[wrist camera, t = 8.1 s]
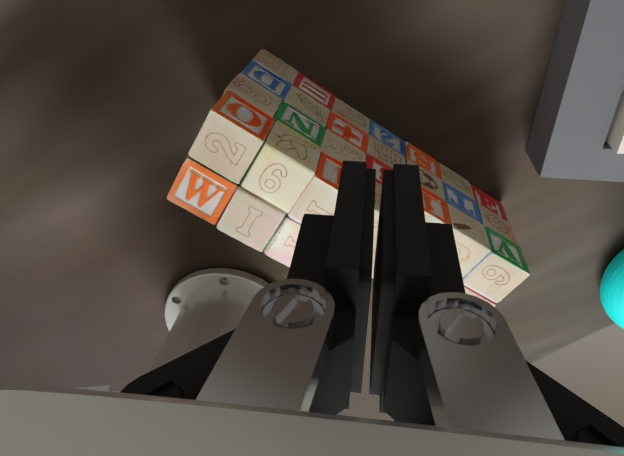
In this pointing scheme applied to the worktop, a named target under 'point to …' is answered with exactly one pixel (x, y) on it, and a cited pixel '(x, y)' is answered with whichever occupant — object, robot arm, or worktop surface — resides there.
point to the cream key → (617, 128)
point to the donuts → (614, 289)
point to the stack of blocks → (325, 174)
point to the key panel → (581, 95)
